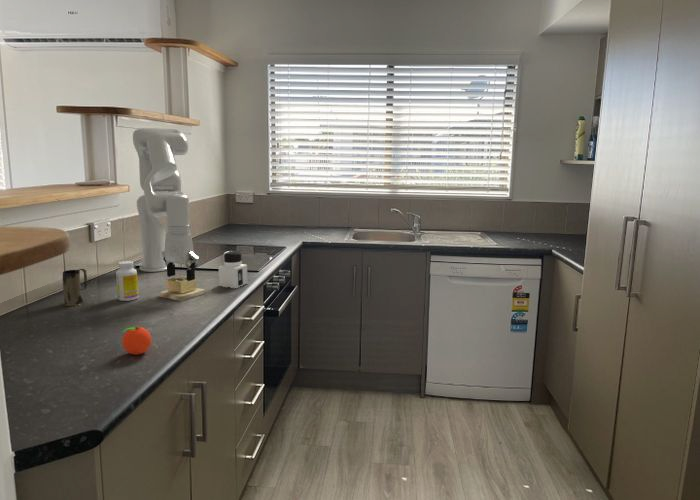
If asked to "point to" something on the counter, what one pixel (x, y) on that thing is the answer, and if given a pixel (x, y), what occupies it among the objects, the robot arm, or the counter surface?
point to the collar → (181, 285)
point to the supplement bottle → (127, 281)
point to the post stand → (184, 295)
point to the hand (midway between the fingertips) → (181, 277)
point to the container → (232, 270)
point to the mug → (73, 287)
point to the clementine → (136, 340)
